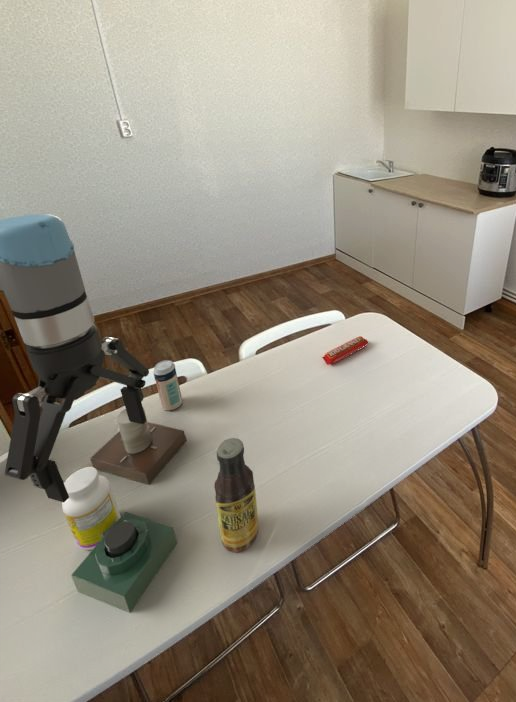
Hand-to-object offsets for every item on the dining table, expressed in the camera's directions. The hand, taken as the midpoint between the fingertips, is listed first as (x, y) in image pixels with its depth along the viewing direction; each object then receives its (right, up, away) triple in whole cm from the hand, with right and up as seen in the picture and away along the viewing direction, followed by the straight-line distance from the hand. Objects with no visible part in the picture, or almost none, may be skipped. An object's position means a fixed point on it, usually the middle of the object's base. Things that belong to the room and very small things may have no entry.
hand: (102, 455), depth 57 cm
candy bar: (+35, -1, +57) cm, 67 cm away
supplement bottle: (-7, -19, +10) cm, 23 cm away
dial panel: (-8, -13, +25) cm, 30 cm away
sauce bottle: (+18, -19, +9) cm, 28 cm away
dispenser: (+1, -21, +5) cm, 21 cm away
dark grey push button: (+1, -15, +3) cm, 16 cm away
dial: (-8, -11, +24) cm, 27 cm away
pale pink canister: (-8, -9, +39) cm, 41 cm away
